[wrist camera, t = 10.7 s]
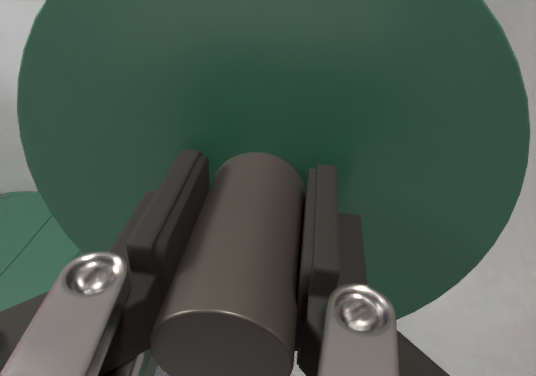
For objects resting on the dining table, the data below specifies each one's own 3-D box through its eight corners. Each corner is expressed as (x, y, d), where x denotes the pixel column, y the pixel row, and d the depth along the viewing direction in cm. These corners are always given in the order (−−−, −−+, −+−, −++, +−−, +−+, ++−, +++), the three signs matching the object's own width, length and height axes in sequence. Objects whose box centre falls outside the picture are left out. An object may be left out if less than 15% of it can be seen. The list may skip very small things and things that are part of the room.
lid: (142, 321, 19) (66, 493, 13) (-62, -32, 11) (-456, 39, 5) (488, 309, 16) (574, 526, 10) (559, -195, 8) (1108, -418, 2)
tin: (33, 347, 31) (-51, 477, 24) (-90, 203, 23) (-265, 332, 16) (204, 343, 28) (164, 489, 21) (126, 178, 20) (25, 320, 14)
